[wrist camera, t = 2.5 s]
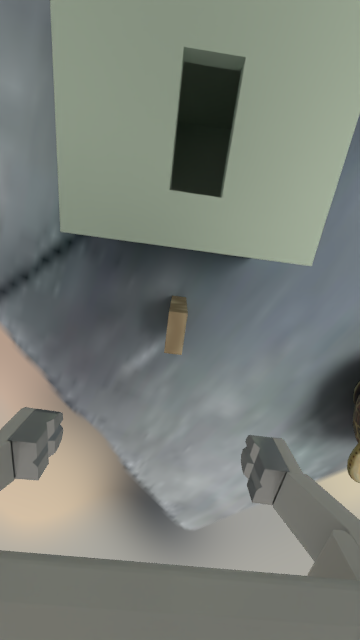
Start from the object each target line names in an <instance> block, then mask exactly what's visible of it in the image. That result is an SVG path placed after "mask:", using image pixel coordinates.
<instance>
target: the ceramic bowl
mask: <svg viewBox="0 0 360 640" xmlns="http://www.w3.org/2000/svg"><path fill="white" fill-rule="evenodd" d="M353 400H354V404H355V408H354V414H353V428H354V433H355V436H356V439H357V442H358V444H357V446H356V447H355V448H354V449H353V451H352V452H351V454H350V456H349V459H348V465H347V469H348V473H349V475H350V477H351V478H352V479H353V480H355V481H356V482H358V483H360V381H359V383H358V384H357V386H356V387H355V389H354V395H353Z"/></svg>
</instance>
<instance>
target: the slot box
mask: <svg viewBox="0 0 360 640" xmlns="http://www.w3.org/2000/svg"><path fill="white" fill-rule="evenodd" d="M50 7H51V30H52V52H53V75H54V98H55V120H56V143H57V165H58V188H59V210H60V232H66V233H73V234H80V235H87V236H94V237H102V238H109V239H116V240H123V241H130V242H138V243H145V244H152V245H160V246H167V247H174V248H182V249H189V250H196V251H203V252H211V253H218V254H225V255H233V256H240V257H247V258H255V259H262V260H270V261H277V262H284V263H292V264H299V265H307V266H312V263H313V259H314V256H315V253H316V250H317V247H318V244H319V240H320V237H321V234H322V231H323V228H324V225H325V221H326V218H327V215H328V212H329V209H330V206H331V203H332V199H333V196H334V193H335V190H336V187H337V184H338V180H339V177H340V174H341V171H342V168H343V165H344V161H345V158H346V155H347V152H348V149H349V146H350V142H351V139H352V136H353V133H354V130H355V127H356V123H357V120H358V117H359V114H360V0H50Z"/></svg>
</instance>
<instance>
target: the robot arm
mask: <svg viewBox="0 0 360 640" xmlns="http://www.w3.org/2000/svg"><path fill="white" fill-rule="evenodd" d="M62 420H63V414H62V413H61V412H56V411H49V410H42V409H33V408H27V407H25V408H22V409H21V410H20V411H19V412H18V413H17V414H16V415H15V416H14V417H13V418H12V419H11V420H10V421H9V422H8V423H7V424H6V425H5V426H4V427H3V428H2V429H1V430H0V491H1V490H2V489H3V488H5V487H6V486H7V485H8V484H10V483H11V482H12V481H14V479H27V480H39V478H40V477H41V475H42V473H43V472H44V470H45V468H46V467H47V465H48V464H49V463H48V457H50V456H51V455H53V454H54V453H55V452H56V450H57V448H58V447H59V444H60V442H61V439H62V434H63V428H62V426H61V425H60V423H61V421H62ZM245 442H246V445H247V447H245V448H244V449H243V451H242V454H241V465H242V470H243V474H244V475H245V476H246V477H247V478H248V479H249V480H248V483H247V487H248V490H249V494H250V497H251V500H252V502H253V503H261V504H268V505H273V508H274V509H275V510H276V511H277V513H278V514H279V515H280V517H281V518H282V519H283V521H284V522H285V523H286V525H287V526H288V527H289V528H290V530H291V531H292V533H293V534H294V535H295V536H296V538H297V539H298V540H299V542H300V543H301V544H302V545H303V547H304V548H305V550H306V551H307V552H308V553H309V555H310V556H311V557H312V559H313V560H314V561H315V563H314V564H313V566H312V568H311V570H310V571H309V573H308V576H301V575H288V574H276V573H264V572H253V571H241V570H228V569H217V568H205V567H193V566H182V565H169V564H157V563H146V562H134V561H122V560H109V559H98V558H86V557H73V556H61V555H50V554H37V553H26V552H14V551H1V550H0V640H360V520H359V519H357V517H355V516H354V515H353V514H352V513H351V512H349V510H347V509H346V508H345V507H344V506H343V505H342V504H341V503H339V502H338V501H337V500H336V499H335V498H333V497H332V496H331V495H330V494H329V493H328V492H327V491H325V490H324V489H323V488H322V487H321V486H320V485H318V484H317V483H316V482H315V481H314V480H313V479H312V478H310V477H309V476H308V475H306V474H303V472H302V471H301V469H300V467H299V465H298V464H297V462H296V460H295V458H294V457H293V455H292V453H291V451H290V450H289V448H288V446H287V444H286V443H285V441H284V440H283V439H282V438H272V437H271V438H270V437H263V436H254V435H248V437H247V439H246V441H245Z"/></svg>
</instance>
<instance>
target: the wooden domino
mask: <svg viewBox="0 0 360 640" xmlns="http://www.w3.org/2000/svg"><path fill="white" fill-rule="evenodd" d="M187 314H188V312H187V302H186V297H179V296H172V299H171V304H170V310H169V317H168V325H167V334H166V342H165V351H164V353H170V354H178V355H182V348H183V342H184V335H185V328H186V321H187Z"/></svg>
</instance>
